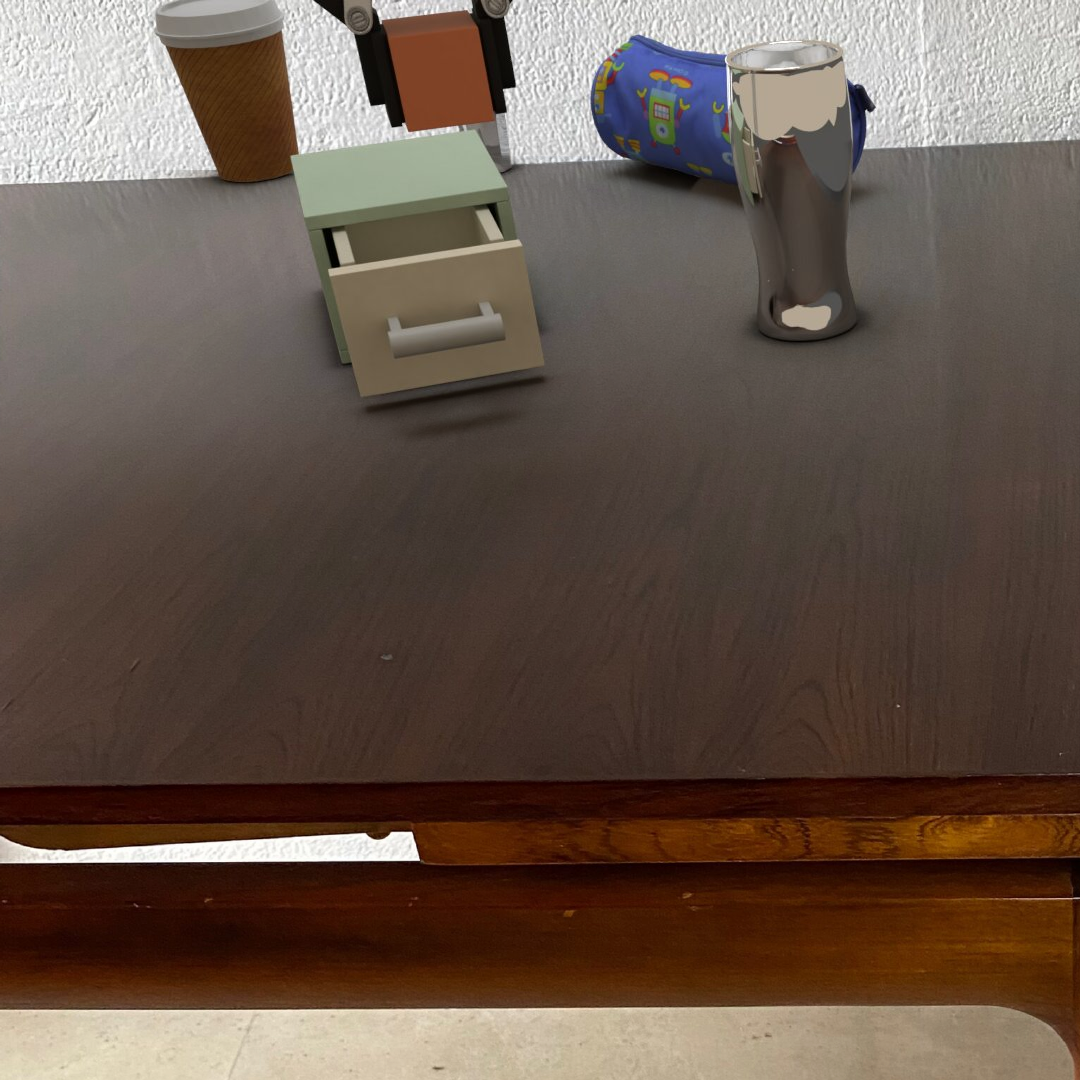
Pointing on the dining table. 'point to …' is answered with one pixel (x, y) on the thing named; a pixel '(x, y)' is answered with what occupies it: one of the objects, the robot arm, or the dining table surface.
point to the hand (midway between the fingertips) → (445, 109)
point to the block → (439, 70)
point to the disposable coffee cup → (234, 82)
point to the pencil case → (679, 109)
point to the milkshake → (494, 139)
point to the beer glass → (795, 181)
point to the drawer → (433, 300)
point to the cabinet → (393, 192)
